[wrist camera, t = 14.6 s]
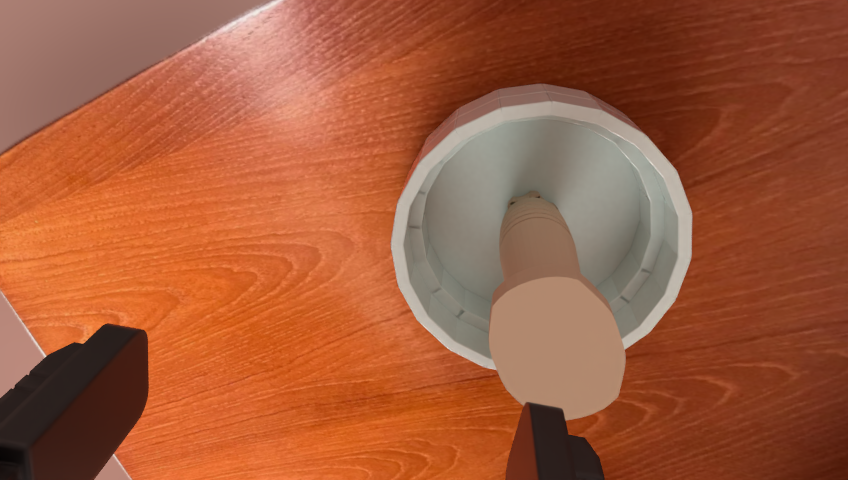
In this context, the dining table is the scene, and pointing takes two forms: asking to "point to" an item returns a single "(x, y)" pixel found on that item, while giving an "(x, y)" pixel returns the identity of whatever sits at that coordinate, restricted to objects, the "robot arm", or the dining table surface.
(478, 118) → the mixing bowl
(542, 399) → the handle
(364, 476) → the dining table surface
